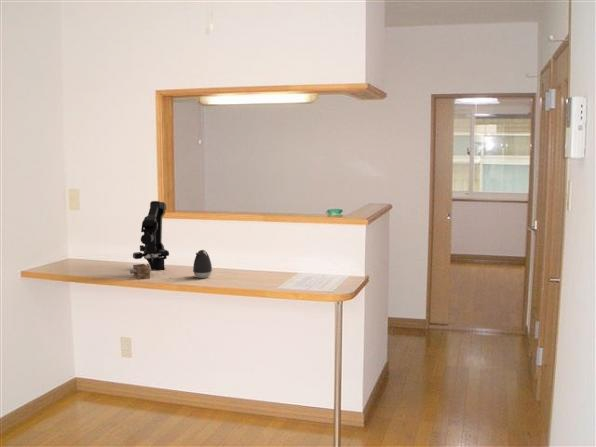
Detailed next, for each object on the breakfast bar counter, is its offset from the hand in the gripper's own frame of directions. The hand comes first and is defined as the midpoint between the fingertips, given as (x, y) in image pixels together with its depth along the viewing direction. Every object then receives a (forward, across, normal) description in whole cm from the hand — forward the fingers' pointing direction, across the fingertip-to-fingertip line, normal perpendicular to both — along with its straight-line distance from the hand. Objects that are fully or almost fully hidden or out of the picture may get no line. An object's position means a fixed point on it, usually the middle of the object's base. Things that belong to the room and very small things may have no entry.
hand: (151, 269), depth 338 cm
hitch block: (+3, +6, 0) cm, 7 cm away
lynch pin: (+3, +7, 0) cm, 7 cm away
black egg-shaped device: (+4, -23, +17) cm, 29 cm away
